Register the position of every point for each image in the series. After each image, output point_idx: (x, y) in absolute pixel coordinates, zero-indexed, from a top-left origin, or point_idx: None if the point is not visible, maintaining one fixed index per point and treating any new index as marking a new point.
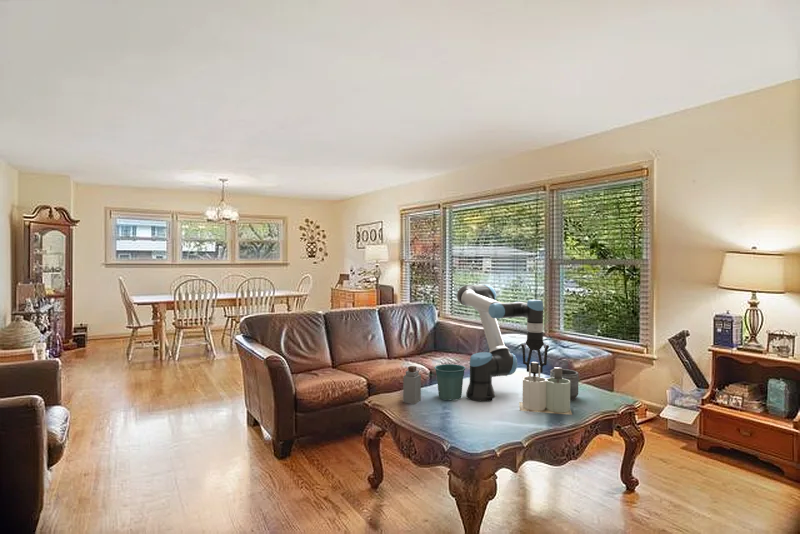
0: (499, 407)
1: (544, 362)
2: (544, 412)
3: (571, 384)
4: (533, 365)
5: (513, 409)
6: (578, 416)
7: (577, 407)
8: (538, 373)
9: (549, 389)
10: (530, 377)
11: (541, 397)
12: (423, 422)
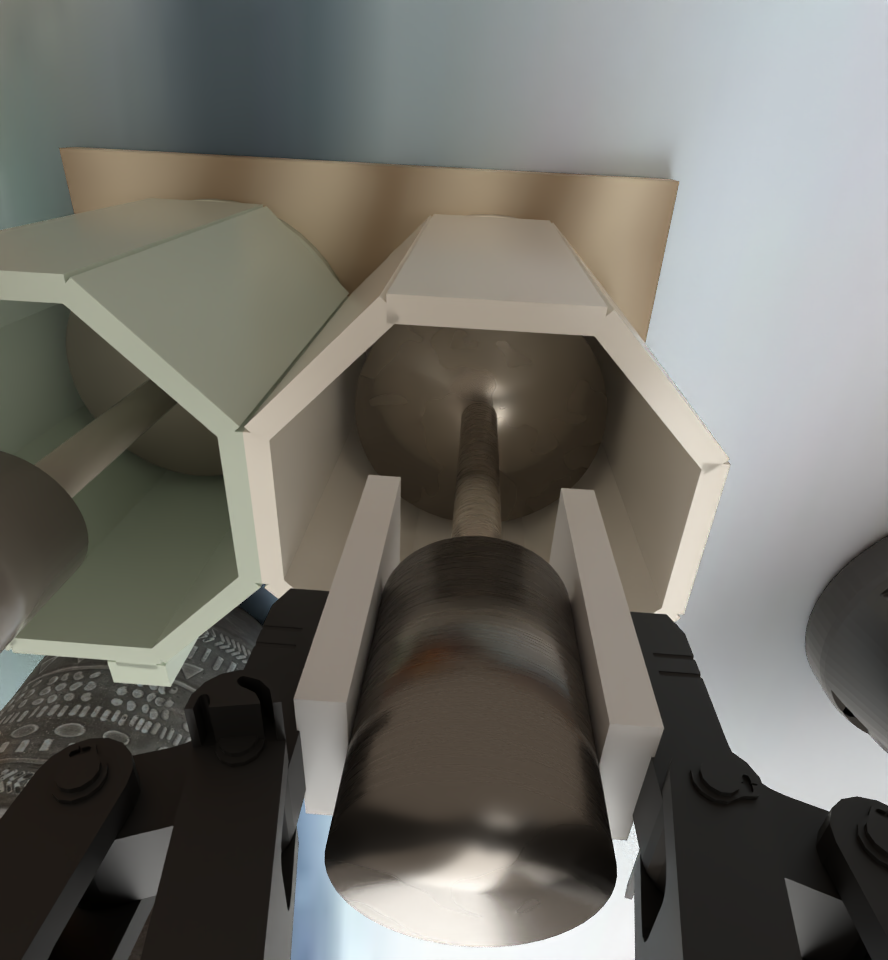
0: (857, 350)
1: (75, 840)
2: (378, 167)
3: (25, 705)
4: (525, 723)
5: (711, 308)
6: (20, 199)
7: None
8: (383, 587)
9: (233, 320)
10: (569, 507)
11: (389, 263)
12: None
